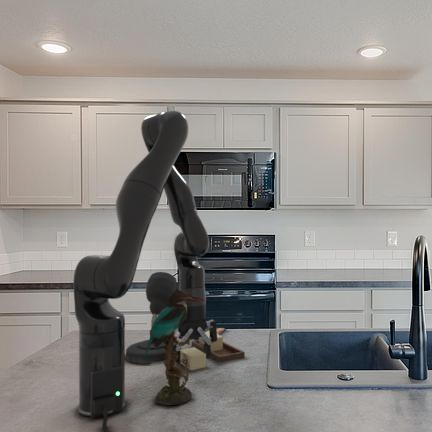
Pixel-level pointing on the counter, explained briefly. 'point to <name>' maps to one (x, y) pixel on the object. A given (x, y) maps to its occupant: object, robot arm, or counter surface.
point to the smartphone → (219, 331)
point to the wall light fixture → (153, 318)
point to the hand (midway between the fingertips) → (192, 360)
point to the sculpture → (160, 333)
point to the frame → (222, 352)
